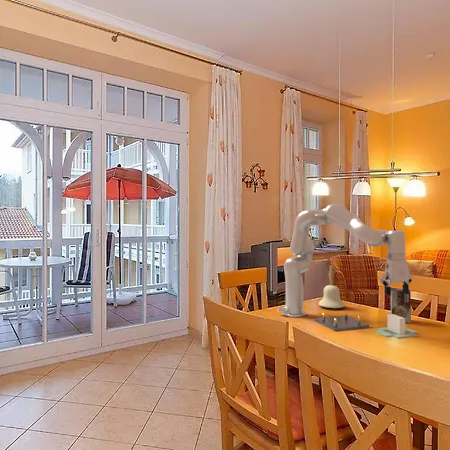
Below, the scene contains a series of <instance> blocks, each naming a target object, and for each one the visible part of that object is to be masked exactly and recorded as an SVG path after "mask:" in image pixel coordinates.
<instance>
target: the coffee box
mask: <svg viewBox="0 0 450 450" xmlns="http://www.w3.org/2000/svg"><path fill="white" fill-rule="evenodd" d="M411 299H412V298H411V289H409V294H405V293H403V288H392V287H391V295H390V314H394V315H397V316H400V317H403V318H405V323H410V324H411V323H412V315H411V314H412V304H411V303H412V301H411Z"/></svg>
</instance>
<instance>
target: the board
mask: <svg viewBox="0 0 450 450" xmlns="http://www.w3.org/2000/svg"><path fill="white" fill-rule="evenodd" d="M386 316H387V317H386V318H387V322H386V323H387V326H386V327H385V326H384V327H377V328H376V330H374V333H377V334H378V335H380V334H381V335H380V336H383V337H385V338H390V337H394V338H396V339H404V338H412V337H413V338H414V337H417V334H419V333H418V331H415V330H413V329H411V328H408V327H406V322H405V318H403V317H400V316H397V315H394V314H391V313H390V314H389V313H388V314H387V315H386ZM377 329H378V330H377Z"/></svg>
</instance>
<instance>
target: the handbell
mask: <svg viewBox="0 0 450 450" xmlns="http://www.w3.org/2000/svg"><path fill="white" fill-rule="evenodd" d="M334 272H335V271H334V266H333V264H332V265H329V274H328V275H329V283H330V284H328V285H326V286H324V287H323V298H322V299H321V300H320V301H318V305H319V306H320V307H323V308H330V309H340V308H344V307H345V306H346V304H345V302H344V301H343V300H342V299H341V297H340V294H341V293H340V291H341V290H340V288H339V287H338V286H337V285H334V278H335V277H334V276H335V273H334Z"/></svg>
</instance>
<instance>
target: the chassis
mask: <svg viewBox="0 0 450 450" xmlns="http://www.w3.org/2000/svg"><path fill="white" fill-rule="evenodd" d="M314 321H315V322H317V323H319V324H320V325H323V326H325V327H326V328H328V329H330V330H332V331H333V332H339V331H341V332H342V331H349V330H359V329H369V327H370V324H369V323H366V322H363V321H362V320H361V315H357V318H355V317H351V316H349V314H348V310H345V311H344V315H335V316H326V313H325V312H322V317H315V318H314Z"/></svg>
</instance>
